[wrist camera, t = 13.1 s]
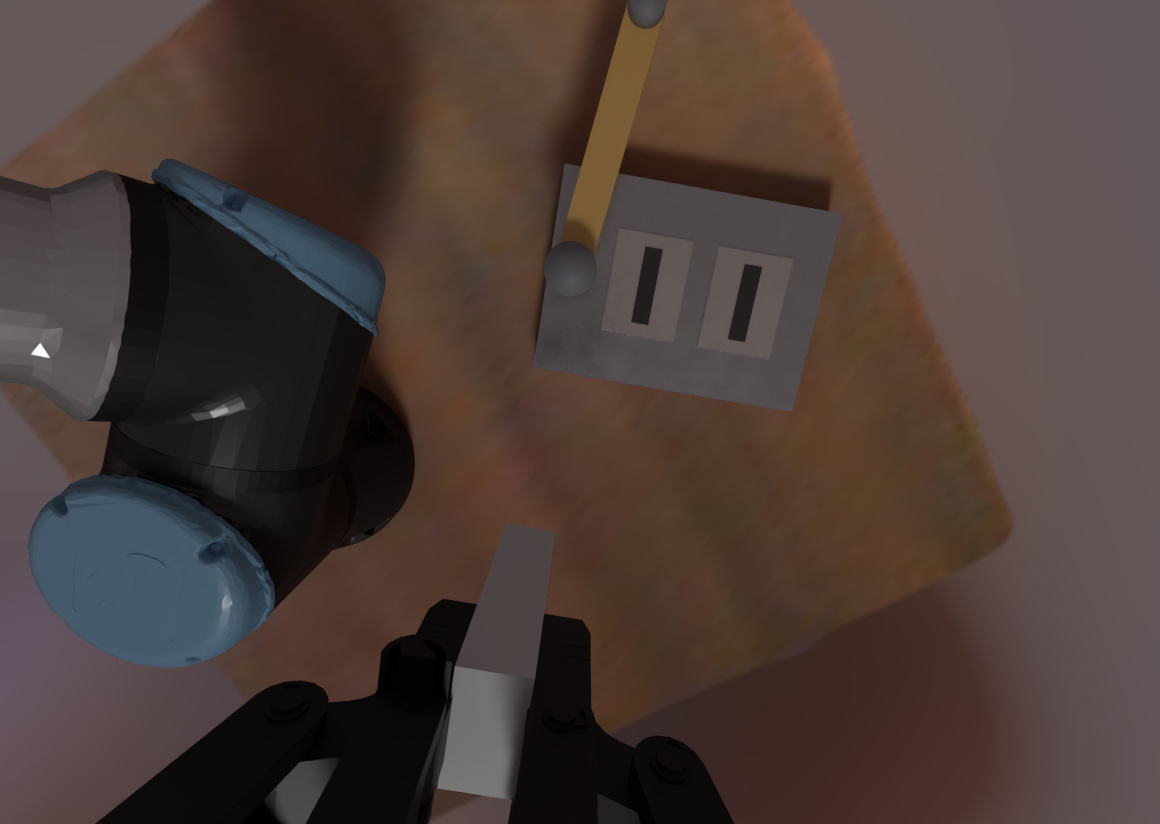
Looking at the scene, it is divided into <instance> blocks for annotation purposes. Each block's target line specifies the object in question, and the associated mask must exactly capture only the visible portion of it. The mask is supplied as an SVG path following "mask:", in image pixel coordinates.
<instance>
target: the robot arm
mask: <svg viewBox="0 0 1160 824" xmlns="http://www.w3.org/2000/svg"><path fill="white" fill-rule="evenodd" d="M151 178H152V179H153V181H155V183H154V184H149V183H146V182H143V181H140V180H137V179H133V178H130V177H127V176H124V175H120V174H117V173H114V172H111V171H107V170H101V171H98V172H95V173H93V174H90V175H88V176H85V177H83V178H80V179H78V180H75V181H73V182H70V183H68V184H65V185H63V186H60V187H58V188H43V187H39V186H35V185H32V184H28V183H24V182H21V181H17V180H13V179H10V178H6V177H2V176H0V382H4V383H18V384H25V385H27V386H30V387H32V388H34V389H36V390H38V391H39V392H40V393H42V394H43V395H44V396H45V397H46V398H48V399H49V400H50V401H51V402H52V403H54V404H55V405H56V406H57V407H59V408H60V409H61V410H62V411H63V412H65V413H66V414H67V415H68V416H69V417H71V418H72V419H75V420H80V421H103V422H111V425H110V430H109V436H108V441H107V445H106V450H105V456H104V461H103V466H102V469H101V471H100V473H99V475H95V476H92V477H88V478H84V479H80V480H78V481H76V482H74V483H72V484H70V485H69V486H68V487H67V489H66V490H64V491H63V492H62V493H61V494H60V495H58V496H56V497H54V498H53V499H52V500H51V501H49V502H48V503H47V504H46V505H45V506H44V507H43V509H42V510H41V511H40V512H39V514H38V516H37V518H36V520H35V522H34V523H33V526H32V529H31V532H30V537H29V545H28V549H29V562H30V567H31V571H32V574H33V577H34V580H35V582H36V584H37V587H38V589H39V591H40V593H41V595H42V596H43V597H44V599H45V600H46V602H47V604H48V605H49V607H50V608H51V609H52V611H53V612H54V613H56V614H57V615H58V616H60V617H61V618H62V619H63V620H64V622H65V623H66V624H67V626H68V627H69V629H71V630H72V631H73V632H74V633H75V634H77V635H78V636H79V637H81V638H82V639H83V640H85V641H86V642H88V643H90V644H91V645H93V646H94V647H96V648H98V649H100V650H102V651H103V652H106V653H108V654H110V655H112V656H115V657H117V658H120V659H123V660H126V661H129V662H132V663H137V664H141V665H147V666H155V667H182V666H188V665H194V664H197V663H200V662H201V661H204V660H208V659H210V658H213V657H216V656H218V655H220V654H222V653H223V652H225V651H227V650H228V649H229V648H231V647H232V646H233V645H235V644H236V643H237V642H239V641H240V640H241V639H243V638H244V637H245V636H247V635H248V634H249V633H250V632H252V631H254V630H256V629H257V628H258V627H259V626H260V625H262V624H263V623H264V622H265V620H266V619H267V618H269V615H270V613H271V612H272V611H273V610H274V609H275V608H276V607H277V606H278V605H279V604H280V603H281V602H282V601H283V600H284V599H285V598H286V597H287V596H288V595H289V594H290V593H291V592H292V591H293V590H294V589H295V588H296V587H297V586H298V585H299V584H300V583H301V582H302V581H303V580H304V579H305V578H306V577H307V576H308V575H309V574H310V573H311V572H312V571H313V570H314V569H315V568H316V567H317V565H318V564H319V563H320V562H321V561H322V560H323V559H324V558H325V557H326V556H327V555H328V554H329V553H330V552H331V551H332V550H336V549H339V548H343V547H346V546H349V545H353V544H356V543H358V542H361V541H363V540H365V539H367V538H369V537H371V536H373V535H374V534H376V533H377V532H378V531H380V530H381V529H382V528H384V527H385V526H386V525H387V524H388V523H389V522H390V520H391V519H392V518H393V517H394V516H395V515H396V514H397V513H398V511H399V510H400V509H401V508H402V506H403V504H404V503H405V501H406V499H407V497H408V495H409V493H410V490H411V487H412V483H413V477H414V455H413V449H412V445H411V442H410V439H409V436H408V434H407V432H406V430H405V428H404V426H403V424H402V423H401V421H400V420H399V418H398V417H397V415H396V414H395V413H394V412H393V411H392V409H391V408H390V407H389V406H388V405H387V404H386V403H385V402H383V401H382V400H381V399H380V398H378V397H377V396H376V395H374V394H373V393H371V392H369V391H367V390H366V389H364V388H362V387H359V386H360V382H361V379H362V375H363V372H364V368H365V364H366V361H367V357H368V354H369V350H370V347H371V343H372V339H373V336H376V337H377V334H378V327H377V325H376V324H377V319H378V315H379V311H380V306H381V302H382V298H383V293H384V289H385V273H384V270H383V267H382V265H381V264H380V262H379V260H378V259H377V258H376V257H375V256H374V255H373V254H372V253H371V252H369V251H368V250H366V249H364V248H362V247H361V246H359V245H357V244H355V243H353V242H351V241H349V240H347V239H345V238H343V237H341V236H338V235H336V234H334V233H332V232H330V231H328V230H326V229H324V228H322V227H320V226H318V225H315V224H313V223H311V222H309V221H307V220H305V219H303V218H301V217H298V216H296V215H294V214H292V213H290V212H288V211H286V210H284V209H281V208H279V207H277V206H275V205H273V204H271V203H268V202H266V201H264V200H262V199H260V198H257V197H255V196H253V195H250V194H248V193H246V192H244V191H243V190H240V189H238V188H236V187H233V186H231V185H229V184H227V183H225V182H223V181H221V180H219V179H217V178H215V177H213V176H211V175H208V174H206V173H204V172H202V171H200V170H198V169H195V168H193V167H191V166H189V165H186V164H184V163H182V162H180V161H177V160H174V159H165V160H163V161H162V162H161V163H160V165H159V167H158V169H154V170H153V171H152V177H151ZM554 538H555V531H549V530H543V529H537V528H531V527H525V526H519V525H513V524H506V526H505V529H504V532H503V535H502V537H501V540H500V543H499V546H498V548H497V551H496V554H495V557H494V559H493V562H492V565H491V568H490V571H489V573H488V576H487V579H486V582H485V584H484V587H483V590H482V593H481V595H480V598H479V601H478V604H472V603H466V602H459V601H453V600H447V599H442V600H441V601H439V602H438V603H436V604H435V605H434V606H432V607H431V608H430V609H429V610H428V612H427V614H426V615H425V617H424V619H423V621H422V625H420V627H419V629H418V631H417V633H416V635H409V636H404V637H400V638H398V639H396V640H394V641H392V642H390V643H388V645H387V646H386V647H385V648H384V649H383V650H382V651H381V660H380V669H379V678H378V688H377V691H376V693H375V694H373V695H371V696H368V697H365V698H362V699H357V700H351V701H341V702H330V703H328V699H329V698H328V696H327V694H326V692H325V690H324V689H323V688H321V687H320V686H318V685H317V684H315V683H311V682H306V681H301V680H300V681H288V682H283V683H279V684H276V685H273V686H270V687H268V688H266V689H265V690H263V691H261V692H260V693H258V694H256V695H255V696H254V697H253V698H251V699H250V700H249V701H248V702H246V703H245V704H244V705H243V706H242V707H240V708H239V709H238V710H236V711H235V712H234V713H233V714H232V715H230V716H229V717H228V718H227V719H225V720H224V721H223V722H222V723H220V724H219V725H218V726H217V727H215V728H214V729H213V730H212V731H210V732H209V733H208V734H207V735H205V736H204V737H203V738H202V739H200V740H199V741H198V742H197V743H195V744H194V745H193V746H192V747H190V748H189V749H188V750H187V751H186V752H184V753H183V754H182V755H180V756H179V757H178V758H177V759H175V760H174V761H173V762H172V763H170V764H169V765H168V766H167V767H166V768H164V769H163V770H162V771H161V772H159V773H158V774H157V775H155V776H154V777H153V778H152V779H151V780H149V781H148V782H147V783H146V784H144V785H143V786H142V787H141V788H139V789H138V790H137V791H136V792H135V793H133V794H132V795H131V796H129V797H128V798H127V799H126V800H124V801H123V802H122V803H121V804H119V805H118V806H117V807H116V808H114V809H113V810H112V811H111V812H109V813H108V814H107V815H106V816H104V817H103V818H102V819H101V820H99V821H98V822H97V823H96V824H428V823H429V819H430V816H431V810H432V803H433V796H434V791H435V788H436V784H437V781H438V778H439V782H438V788H439V789H446V790H452V791H459V792H465V793H472V794H478V795H484V796H491V797H498V798H504V799H510V800H512V804H511V809H510V815H509V821H508V824H734V822H733V820H732V818H731V816H730V814H729V812H728V810H727V808H726V807H725V805H724V803H723V801H722V799H721V797H720V795H719V793H718V791H717V789H716V787H715V785H714V783H713V781H712V779H711V777H710V775H709V773H708V771H707V770H706V767H705V765H704V763H703V762H702V761H701V759H700V758H699V757H698V755H697V754H696V753H695V752H694V751H693V750H691V748H689V747H688V746H687V745H685V744H684V743H682V742H680V741H678V740H675V739H673V738H670V737H664V736H652V737H648V738H645V739H643V740H642V741H641V742H640V743H638V744H637V746H636V748H633V747H631V746H629V745H627V744H625V743H622V742H620V741H618V740H617V739H615V738H613V737H611V736H610V735H608V734H607V733H606V732H605V731H604V730H602V728H601V727H600V726H599V725H598V724H597V722H596V720H595V717H594V713H593V712H592V709H591V663H590V661H591V651H590V649H591V637H590V632H589V630H588V629H587V627H586V625H585V624H584V622H583V620H579V619H573V618H567V617H561V616H555V615H548V614H544V610H545V603H546V596H547V589H548V582H549V574H550V567H551V560H552V553H553V546H554Z"/></svg>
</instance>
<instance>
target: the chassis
mask: <svg viewBox="0 0 1160 824" xmlns="http://www.w3.org/2000/svg"><path fill="white" fill-rule="evenodd" d="M580 170H581V166H575V165H570V164H565V165H564V171H563V177H562V184H561V190H560V197H559V203H558V210H557V216H556V223H555V229H554V235H553V242H552V248H553V247H554V246H556V245H557V244H559V243H560V241H561V237H562V234H563V230H564V226H565V223H566V219H567V216H568V212H569V209H570V205H571V202H572V198H573V194H574V191H575V187H576V184H577V180H578V177H579V173H580ZM842 215H843V214H841V213H836V212H830V211H824V210H819V209H813V208H808V207H802V206H797V205H791V204H786V203H780V202H775V201H769V200H764V199H758V198H753V197H747V196H741V195H736V194H730V193H725V192H719V191H714V190H708V189H703V188H697V187H692V186H686V185H681V184H675V183H670V182H664V181H658V180H653V179H647V178H642V177H636V176H631V175H625V174H620V173H618V176H617V180H616V183H615V186H614V190H613V193H612V197H611V200H610V203H609V207H608V210H607V214H606V217H605V220H604V224H603V227H602V230H601V234H600V237H599V241H598V244H597V247H596V251H595V254H594V258H595V260H596V265H597V272H596V277H595V280H594V282H593V284H592V285H591V287H590V288H589V289H588V290H587V291H585V292H584V293H582V294H579V295H576V296H566V295H562V294H559V293H557V292H556V291H554V290H553V289H552V288H551V287H550V286H549V284H548V283H547V281H546V287H545V293H544V300H543V306H542V313H541V319H540V326H539V332H538V339H537V345H536V352H535V358H534V364H533V367H535V368H541V369H547V370H553V371H558V372H564V373H570V374H576V375H582V376H587V377H593V378H599V379H605V380H611V381H616V382H622V383H628V384H634V385H640V386H645V387H651V388H657V389H663V390H669V391H674V392H680V393H686V394H692V395H697V396H703V397H709V398H715V399H721V400H726V401H732V402H738V403H744V404H750V405H755V406H761V407H767V408H773V409H779V410H784V411H790V412H792V410H793V406H794V402H795V399H796V395H797V391H798V387H799V383H800V379H801V375H802V371H803V367H804V363H805V360H806V356H807V352H808V348H809V344H810V340H811V336H812V332H813V328H814V325H815V321H816V317H817V313H818V309H819V305H820V301H821V297H822V293H823V289H824V286H825V282H826V278H827V274H828V270H829V266H830V262H831V258H832V254H833V251H834V247H835V243H836V239H837V235H838V231H839V227H840V223H841V219H842ZM552 248H551V249H552Z"/></svg>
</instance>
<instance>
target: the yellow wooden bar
mask: <svg viewBox="0 0 1160 824" xmlns="http://www.w3.org/2000/svg"><path fill="white" fill-rule="evenodd" d="M668 2H669V0H628V2H627V6H626V10H625V13H624V17H623V20H622V24H621V27H620V31H619V34H618V38H617V42H616V45H615V49H614V52H613V56H612V59H611V63H610V66H609V70H608V74H607V77H606V81H605V84H604V88H603V91H602V95H601V98H600V102H599V106H598V109H597V113H596V116H595V120H594V123H593V127H592V130H591V134H590V138H589V141H588V145H587V148H586V152H585V155H584V159H583V162H582V166H581V170H580V173H579V177H578V180H577V184H576V187H575V191H574V194H573V198H572V202H571V205H570V209H569V212H568V216H567V219H566V223H565V226H564V230H563V234H562V237H561V241H560V243H559V244H557V245H556V246H554V247H553V248H552V249H551V250H550V251H549V253H548V254H547V256H546V258H545V261H544V276H545V279H546V281H547V283H548V284H549V286H550V287H551V288H552V289H553V290H554V291H556V292H557V293H559V294H562V295H566V296H576V295H579V294H582V293H584V292H585V291H587V290H588V289H589V288H590V287H591V285H592V284H593V282H594V280H595V277H596V272H597V265H596V260H595V258H594V254H595V251H596V247H597V244H598V241H599V237H600V234H601V230H602V227H603V224H604V220H605V217H606V214H607V210H608V207H609V203H610V200H611V197H612V193H613V190H614V186H615V183H616V180H617V176H618V173H619V169H620V166H621V163H622V159H623V156H624V153H625V149H626V146H627V142H628V139H629V136H630V132H631V129H632V125H633V122H634V119H635V115H636V112H637V108H638V105H639V102H640V98H641V95H642V91H643V88H644V85H645V81H646V78H647V75H648V71H649V68H650V64H651V61H652V58H653V54H654V51H655V47H656V44H657V41H658V37H659V34H660V30H661V27H662V24H663V20H664V17H665V13H666V9H667V6H668Z"/></svg>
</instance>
